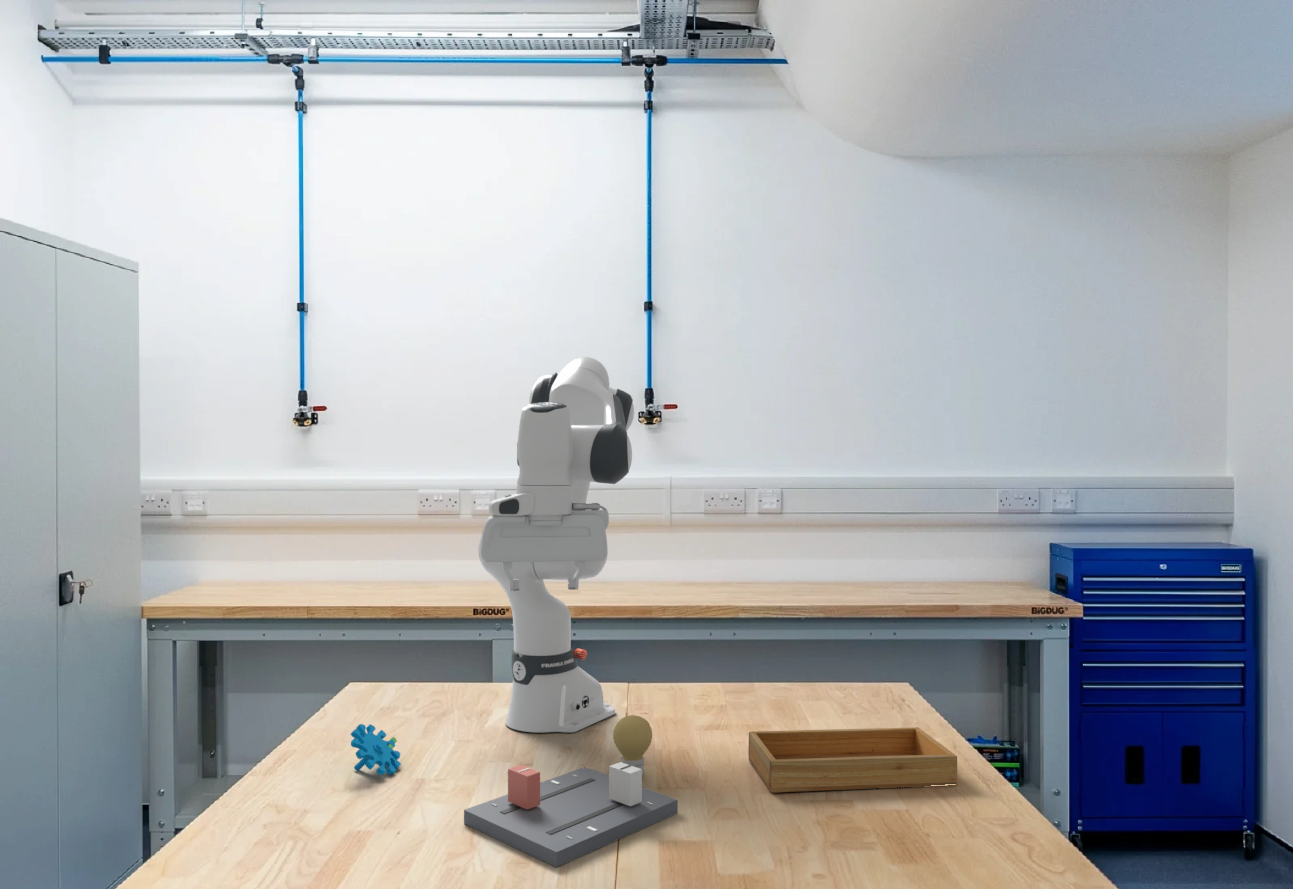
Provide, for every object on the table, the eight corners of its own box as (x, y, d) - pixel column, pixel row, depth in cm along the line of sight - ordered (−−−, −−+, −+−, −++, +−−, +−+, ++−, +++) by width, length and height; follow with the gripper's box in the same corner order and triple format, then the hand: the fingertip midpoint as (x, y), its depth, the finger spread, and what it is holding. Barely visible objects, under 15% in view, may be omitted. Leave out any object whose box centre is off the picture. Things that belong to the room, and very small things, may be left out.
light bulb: (657, 772, 155) (657, 712, 155) (644, 786, 149) (644, 724, 149) (621, 768, 158) (621, 709, 157) (607, 781, 151) (607, 719, 151)
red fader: (520, 796, 139) (520, 764, 139) (540, 804, 136) (540, 771, 136) (507, 801, 137) (508, 768, 137) (527, 809, 134) (527, 775, 134)
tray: (918, 756, 165) (918, 724, 165) (957, 788, 150) (957, 753, 150) (748, 763, 161) (748, 731, 161) (770, 797, 146) (771, 761, 146)
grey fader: (620, 793, 140) (620, 761, 140) (641, 801, 137) (641, 768, 137) (609, 798, 138) (609, 765, 138) (630, 806, 135) (630, 772, 135)
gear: (379, 775, 149) (345, 725, 152) (354, 799, 150) (321, 749, 153) (416, 762, 160) (384, 716, 163) (393, 785, 160) (361, 738, 164)
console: (585, 779, 152) (585, 766, 152) (677, 813, 139) (677, 798, 139) (464, 823, 135) (464, 809, 135) (556, 867, 121) (556, 851, 121)
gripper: (605, 502, 155) (604, 585, 154) (479, 502, 150) (478, 588, 150) (612, 503, 148) (611, 591, 148) (481, 504, 144) (480, 594, 144)
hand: (543, 589), depth 149 cm, fingers open, 8 cm apart
